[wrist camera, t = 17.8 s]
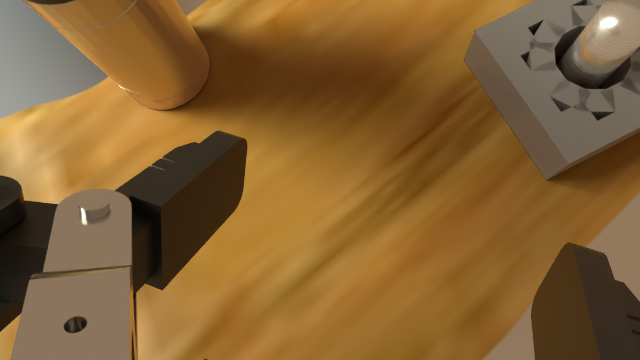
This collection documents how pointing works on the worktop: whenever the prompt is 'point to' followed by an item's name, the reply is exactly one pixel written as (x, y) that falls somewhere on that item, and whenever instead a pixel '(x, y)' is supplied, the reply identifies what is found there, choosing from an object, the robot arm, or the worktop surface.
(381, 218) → the worktop surface
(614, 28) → the steel peg
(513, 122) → the socket block
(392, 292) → the worktop surface
